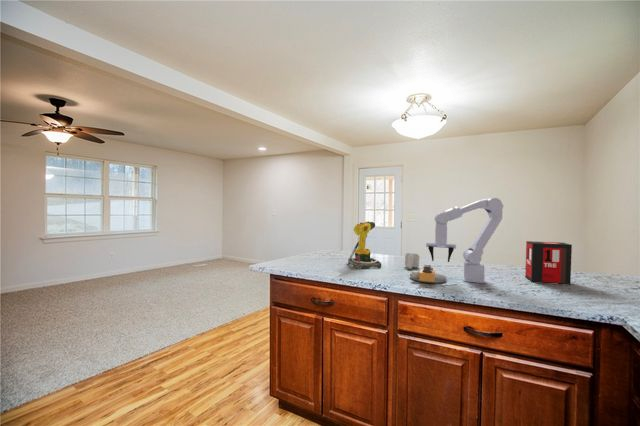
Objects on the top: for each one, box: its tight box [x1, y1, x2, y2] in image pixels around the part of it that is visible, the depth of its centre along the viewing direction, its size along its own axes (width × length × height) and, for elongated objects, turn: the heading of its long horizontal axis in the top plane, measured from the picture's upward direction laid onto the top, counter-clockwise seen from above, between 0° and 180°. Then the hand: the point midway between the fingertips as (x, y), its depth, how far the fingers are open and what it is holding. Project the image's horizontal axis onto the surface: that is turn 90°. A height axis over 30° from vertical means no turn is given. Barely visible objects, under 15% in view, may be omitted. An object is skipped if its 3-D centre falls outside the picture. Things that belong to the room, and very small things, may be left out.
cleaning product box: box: [524, 240, 573, 286], centre depth 155 cm, size 16×9×20 cm, turn 73°
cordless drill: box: [347, 221, 382, 270], centre depth 192 cm, size 18×19×28 cm
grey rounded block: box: [404, 252, 420, 270], centre depth 185 cm, size 8×10×10 cm
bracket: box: [411, 268, 436, 282], centre depth 153 cm, size 11×9×4 cm
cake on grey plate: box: [409, 266, 447, 285], centre depth 159 cm, size 18×18×6 cm
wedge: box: [423, 264, 432, 273], centre depth 152 cm, size 3×4×7 cm, turn 158°
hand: (440, 261), depth 159 cm, fingers open, 7 cm apart
